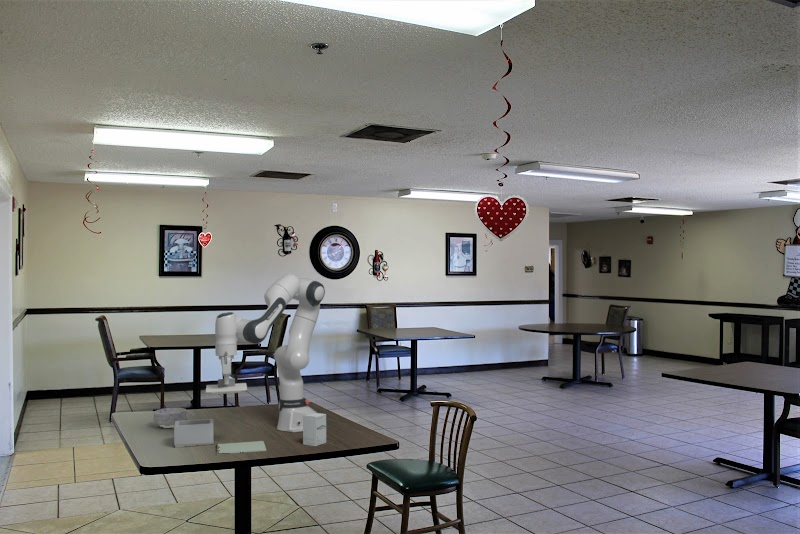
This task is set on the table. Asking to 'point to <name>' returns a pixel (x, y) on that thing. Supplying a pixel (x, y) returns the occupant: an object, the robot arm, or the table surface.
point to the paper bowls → (169, 416)
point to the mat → (242, 447)
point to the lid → (226, 387)
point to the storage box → (194, 432)
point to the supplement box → (314, 429)
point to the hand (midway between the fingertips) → (226, 383)
